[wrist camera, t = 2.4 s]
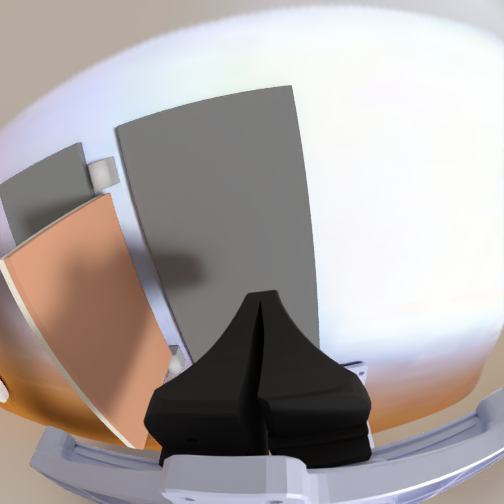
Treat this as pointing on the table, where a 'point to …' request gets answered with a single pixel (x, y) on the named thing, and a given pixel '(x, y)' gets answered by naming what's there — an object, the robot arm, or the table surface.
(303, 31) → the table surface
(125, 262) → the flap
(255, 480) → the robot arm
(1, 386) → the plastic lid
